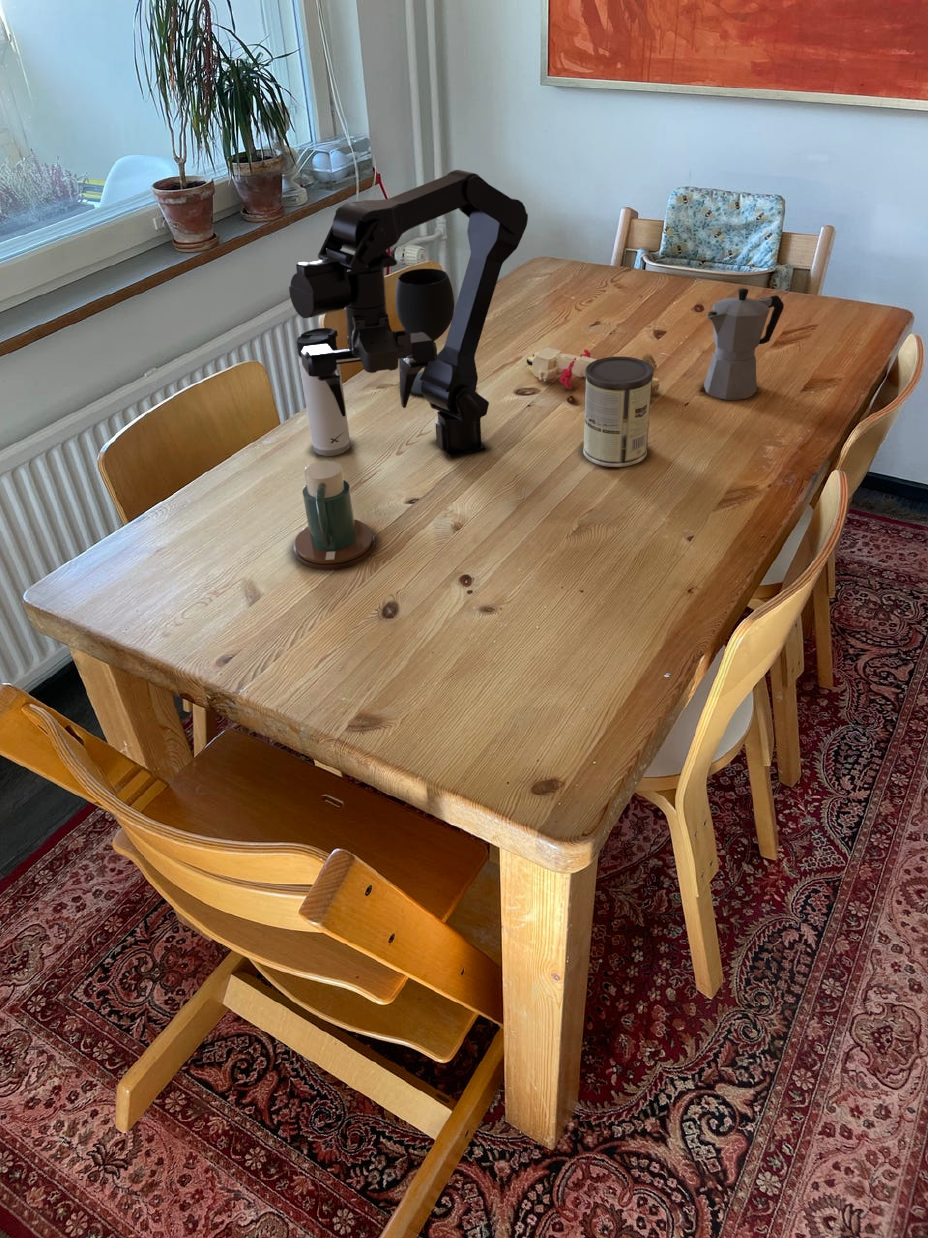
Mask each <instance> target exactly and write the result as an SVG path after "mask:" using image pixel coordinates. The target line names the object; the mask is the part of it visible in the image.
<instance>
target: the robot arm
mask: <svg viewBox="0 0 928 1238" xmlns="http://www.w3.org/2000/svg"><path fill="white" fill-rule="evenodd" d="M456 210H459V211H460V212H461V213H462V214H464V216H466V217H467V218H468V225H467V230H466V232H467V239H468V244H469V251H470V255H469V260H468V262H467V266H466V268H465V269H466V270H465V273H464V277H463V279H462V284H461V287H460V290H459V293H458V298H457V301H456V304H455V307H454V314H453V318H452V321H451V323H450V325H449V327H448V328H449V329H448V332H447V335H446V340H445V342H444V346H443V348H441V350H440V351H439V352H438V348H437V344H436V341H433V340H431V339H430V338H429V337H428V336H427V335H426V334H425V333H424V332H419V333H411V334H410V333H409V331H408V330H405V329H400V330H392V327H391V325H390V319H389V314H388V312H387V310H388V309H387V298H386V297H387V296H386V283H385V281H386V280H385V268H386V269H387V268H390V267H394V266H397V264H398V261H397V260H396V259H395V258H394V257H393V256H392V255H390V254H389V253H388V250H389V249H390V248H392V247H394V246H395V245H396V244H397V243H398V242H399V241H400V238H401V237H402V235H403V234H405V233H406V232H407V231H409V230H411V229H414V228H415V227H418V226H421V225H423V224H425V223H427V222H430V221H432V220H435V219H437V218H439V217H442V216H444V215H446V214H449V213H452V212H454V211H456ZM528 220H529V214H528V213H527V209H526V206H525V205H524V203H523V202H522V201H521V200H519V199H518V198H517V199H516V198H512V197H510V196H508V195H507V194H505V193H504V192H502V191H500V190H499V189H497V188H496V187H494V186H492V185H491V184H489V183H488V182H487V181H486V180H485V179H484V178H482V177H481V176H480V175H479V174H478V173H475V172H471V171H467V170H461V169H454V170H451V171H450V172H449V173H447V174H445V175H443V176H441V177H439V178H437V179H434V180H432V181H429V182H427V183H425V184H422V185H421V184H420V185H419V186H417V187H414V188H412V189H409V190H407V191H404V192H401V193H399V194H396V195H395V196H392V197H389V198H385V199H365V200H358V201H353V202H351V201H350V202H346V203H343V204H341V205H340V206H339V207H338V208H337V209H336V210H335V215H334V217H333V220H332V224H331V227H330V229H329V231H328V233H327V235H326V237H325V239H324V242H323V243H322V245H321V248H320V250H319V252H318V254H317V258H318V259H319V260H316V261H315V260H314V261H310V262H309V261H302V262H297V263H296V265H295V266H296V267H295V269H296V272H295V273H294V274H293V275H292V277H291V280H290V284H289V287H288V293H289V297H290V302H291V304H292V307H293V309H294V310H295V312H296V313H297V315H299V316H300V317H301V318H302V319H310V318H315V317H319V316H322V315H327V314H331V313H335V312H339V311H342V310H344V315H345V323H346V334H347V337H346V339H347V345H348V348H344V349H338V350H335V351H333V350H332V349H331V348H330V346H329V345H328V344H321V345H313V346H305V347H304V348H303V350H302V351H301V358H302V366H303V367H304V369H305V370H306V372H307V373H308V375H309V376H312V377H317V378H318V380H320V381H326V383H327V384H328V386H329V388H330V390H331V392H332V395H333V397H334V399H335V401H336V404H337V406H338V408H339V410H340V413H341V415H342V416H343V417H344V416H345V407H346V404H345V405H344V400H345V399H344V400H343V396H342V391H341V386H340V376H339V374H338V373H337V372H336V369H337V364H340V365H344V364H352V363H360V362H361V365H362V367H363V370H364V371H365V372H367V373H369V374H375V373H377V372H380V371H381V372H382V371H395V370H398V368H399V397H400V405H401V407H402V408H403V409H406V408H407V405H408V402H409V399H410V396H411V394H410V392H411V389H412V386H413V383H414V380H415V378H416V376H417V374H418V373H420V371H421V370H422V369H423V371H422V372H423V374H422V376H421V377H420V380H421V381H422V385H421V392H422V393H423V396H422V397H423V398H424V399H425V400H426V401H427V402H428V404H429V405H430V408H431V409H432V410H436V411H437V421H435V438H436V439H435V444H436V446H438V447H439V448H440V449H441V451H443V452H444V453H445V455H447V456H448V457H449V458H451V459H452V458H456V457H460V456H465V455H469V454H472V453H475V452H476V453H477V452H480V451H484V450H486V449H487V448H486V447H487V446H486V444H485V443H483V442H482V426H481V419H482V418H483V417H486V416H487V415H488V409H489V406H490V402H489V401H488V399H486V398H484V397H483V396H482V395H480V394H479V393H478V392H477V391H476V390H477V386H478V381H479V380H478V379H479V376H478V371H477V366H476V360H475V357H476V352H477V349H478V346H479V342H480V340H481V336H482V332H483V330H484V326H485V322H486V320H487V316H488V312H489V310H490V306H491V303H492V300H493V296H494V293H495V290H496V286H497V283H498V279H499V277H500V273H501V270H502V266H503V264H504V263H505V261H506V260H507V259H508V258H509V257H510V256H511V255H512V254H513V253H514V252H515V251H516V250H517V249H518V247H519V245H520V242H521V240H522V238H523V236H524V234H525V230H526V228H527V226H528ZM342 249H345V250H346V249H347V250H349V251H352V252H354V254H353V253H349V252H346V251H343V250H342Z"/></svg>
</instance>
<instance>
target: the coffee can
mask: <svg viewBox="0 0 928 1238" xmlns="http://www.w3.org/2000/svg"><path fill="white" fill-rule="evenodd" d="M654 372H655V371H654V369H653V367H652V366H651V365H650V364H649V363H647V362H645V361H643V359H640V358H636V357H631V356H608V357H603V358H599V359H596V361H593V362H591V363H590V364H589V365H588V366H587V367H586V369H585V375H586V377H585V396H584V398H585V399H584V428H583V429H584V431H583V432H584V435H583V448H582V453H583V455H584V457H585V458H586V459H587V460H588V461H590V462H591V463H593V464H595V465H598V466H601V467H602V466H603V467H606V468H607V467H609V468H621V467H622V468H623V467H631V466H634V465H636V464H638V463H641V461H643V460H644V459H645V458H646V457H647V454H648V450H647V449H648V438H649V427H650V426H649V425H650V412H651V402H652V401H651V399H652V394H651V388H652V379H653V378H654V374H655V373H654Z"/></svg>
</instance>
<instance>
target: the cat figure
mask: <svg viewBox="0 0 928 1238" xmlns="http://www.w3.org/2000/svg"><path fill="white" fill-rule="evenodd" d="M583 352H584V353H580V356H578V355H575V354H571V353H566V354H565V353H562V351H561V350H560V349H557V348H551V347H548V346H547V347H543V348H542V349H541V350H540V351H538V352H537V351H536V352H535V353H533V354H532V356H529V357H528V358H527V359H526V364H524V368H527V370H528V372H529V373H532V375H533V376H534V377H537V378H538V379H539V381H543V382H546V381H548V380H551V379H553V377H555V376H556V375H557V374H558V373H560V374H561V376H560V377H559V383H562V384H563V385H564V386H565V388H566V389H568V390H573V387H572V384H571V382H572V381H571V380H572V376H576V377H578V378H579V377H580V378H582V379H584V378H586V375H585V369H586V367H587V366H588V365H589V364H590V363H591V362H593V361H596V360H597V359H596V358H592V357H591V352H590V350H589V349H585V348H584V350H583ZM642 360H643V361H645V362H647V363H649V364H650V365H651V366H652V367H653V369H654V372H655V371H657V367H658V366H657V364H656V362H657V361H656V360H655V358H654V356H652V354H649V353H646V354H644V356H642ZM659 389H660V378H657V377H653V378H652V388H651V395H653V396H656V395H657V394H658V390H659Z"/></svg>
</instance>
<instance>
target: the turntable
mask: <svg viewBox="0 0 928 1238" xmlns="http://www.w3.org/2000/svg"><path fill="white" fill-rule="evenodd" d="M372 534H373V542H372V544H371V546H370V548H369V549H368V550H367V551H366V552H365V553H363V554H362V555H360V556H358V557H356V558H354V559H352V560H349V561H346V562H341V563H334V564H320V563H314V562H311V561H308V560H306V559H304V558H302V557H301V556H300V555H299V554H298V553H297V551H296V548H295V541H294V543H293V547H292V549H293V554H294V557H295V559H296V560H297V562H299V564H301V565H303V566H304V567H306V568H309V569H312V570H317V571H339V570H343V569H349V568H351V567H354V566H357V565H360V564H361V563H363V562H364V561H366V560H367V559H369V558H370V557H371V555H372V554H373V553H374V551H375V549H376V546H377V542H376V536H375V533H374V532H373V531H372Z"/></svg>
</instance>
